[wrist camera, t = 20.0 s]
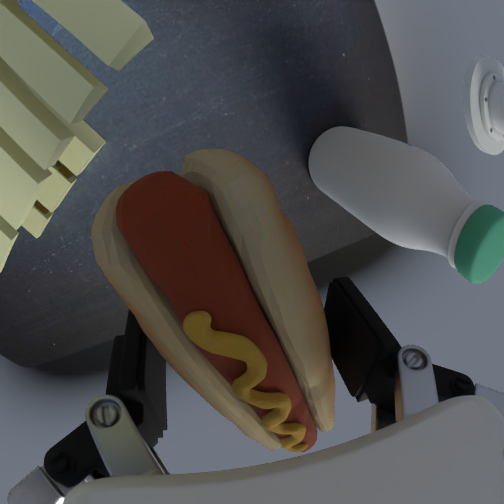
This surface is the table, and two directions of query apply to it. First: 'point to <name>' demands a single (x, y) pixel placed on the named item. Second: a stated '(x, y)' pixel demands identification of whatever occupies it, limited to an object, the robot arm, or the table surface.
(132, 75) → the table surface
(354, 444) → the robot arm
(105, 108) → the table surface
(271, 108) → the table surface
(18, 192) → the slatted curved stool
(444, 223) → the milk bottle
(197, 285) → the food
